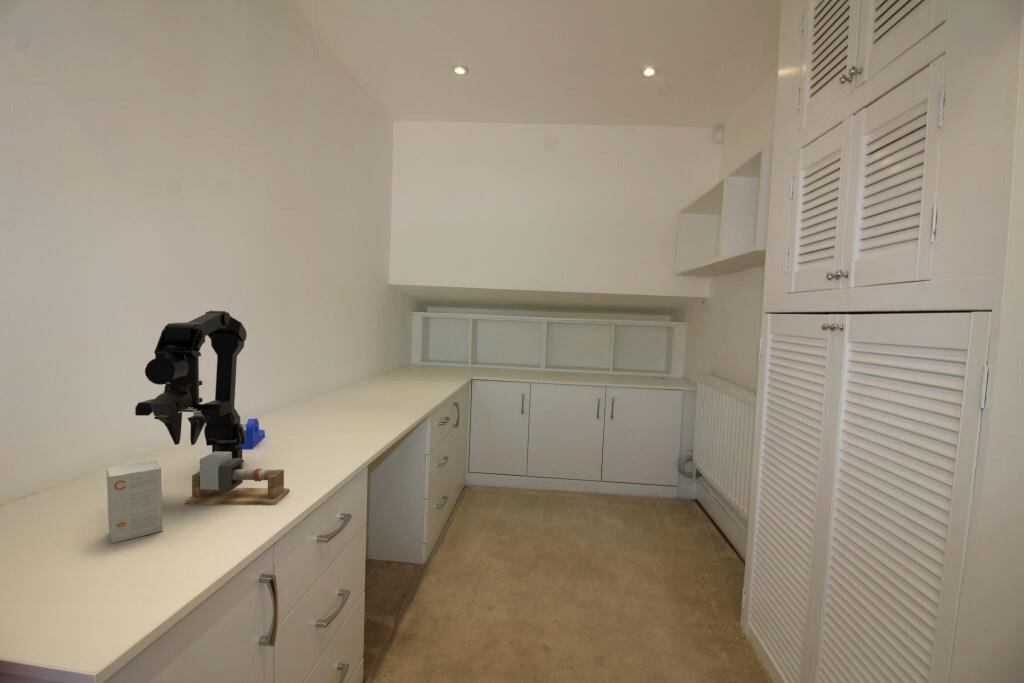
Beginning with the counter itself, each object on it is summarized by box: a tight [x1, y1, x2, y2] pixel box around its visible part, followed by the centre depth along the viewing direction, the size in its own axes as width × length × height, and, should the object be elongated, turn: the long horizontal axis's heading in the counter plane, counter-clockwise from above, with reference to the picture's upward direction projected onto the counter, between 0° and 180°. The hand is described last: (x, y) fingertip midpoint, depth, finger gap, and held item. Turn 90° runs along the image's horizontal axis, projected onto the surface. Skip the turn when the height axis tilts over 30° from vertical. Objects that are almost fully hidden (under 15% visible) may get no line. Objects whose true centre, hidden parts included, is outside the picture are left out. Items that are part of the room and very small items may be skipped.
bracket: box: [241, 418, 266, 450], centre depth 161 cm, size 18×8×9 cm, turn 14°
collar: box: [220, 457, 244, 492], centre depth 115 cm, size 2×6×6 cm, turn 3°
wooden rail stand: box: [184, 468, 290, 506], centre depth 115 cm, size 20×8×7 cm, turn 92°
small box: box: [106, 460, 163, 544], centre depth 96 cm, size 8×6×13 cm
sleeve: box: [199, 452, 232, 490], centre depth 115 cm, size 4×6×7 cm, turn 2°
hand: (185, 444), depth 114 cm, fingers open, 3 cm apart
